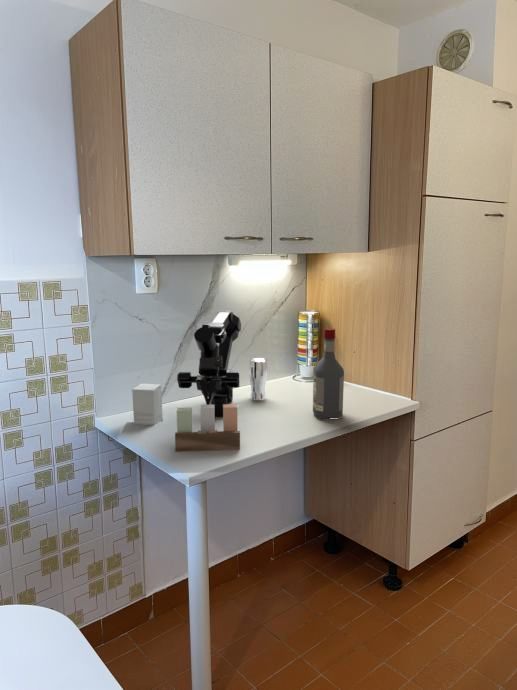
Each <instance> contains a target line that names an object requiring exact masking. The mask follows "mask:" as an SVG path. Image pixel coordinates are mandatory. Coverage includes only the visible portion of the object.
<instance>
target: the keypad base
mask: <svg viewBox="0 0 517 690" xmlns="http://www.w3.org/2000/svg"><path fill="white" fill-rule="evenodd" d="M174 442H175V444H174V449H175V452H202V451H203V452H204V451H205V452H206V451H232V450H233V451H235V450H236V451H237V450H238V451H239V450H241V431H240V430H238V431H223V430H222V431H221V430H220V431H218V430H217V429H215V430H209V432H207V430H205V431H201V430H197V431H192V432H177V431H176V432H174Z"/></svg>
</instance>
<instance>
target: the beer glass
mask: <svg viewBox="0 0 517 690" xmlns="http://www.w3.org/2000/svg"><path fill="white" fill-rule="evenodd" d="M248 376H249V383H250V391H251V392H250V397H249V399H250V400H251V401H253V402H254V401H256V402H262V401H266V399H267V396H266V385H267V379H268V360H267V359H266V358H263V357H254V358H250V359H249V363H248Z"/></svg>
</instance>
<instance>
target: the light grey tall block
mask: <svg viewBox="0 0 517 690" xmlns="http://www.w3.org/2000/svg"><path fill="white" fill-rule="evenodd" d="M199 412H200V431H205V430H207V432H209V430H216V428H215V427H216V426H215V425H216V424H215V422H216V419H215V417H216V416H215V405H211V404H210V405H206V404H200V410H199Z"/></svg>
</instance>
